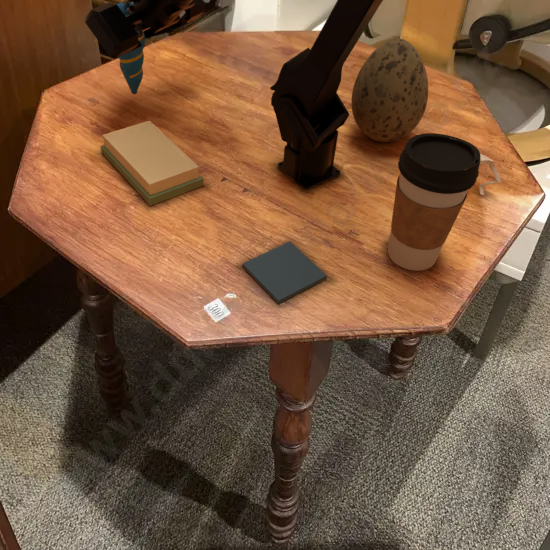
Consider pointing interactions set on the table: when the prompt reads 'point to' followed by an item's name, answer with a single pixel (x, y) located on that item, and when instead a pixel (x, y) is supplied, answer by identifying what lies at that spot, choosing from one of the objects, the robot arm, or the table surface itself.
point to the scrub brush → (151, 162)
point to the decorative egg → (390, 91)
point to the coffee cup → (429, 196)
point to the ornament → (132, 57)
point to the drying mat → (284, 272)
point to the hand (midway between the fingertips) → (122, 43)
